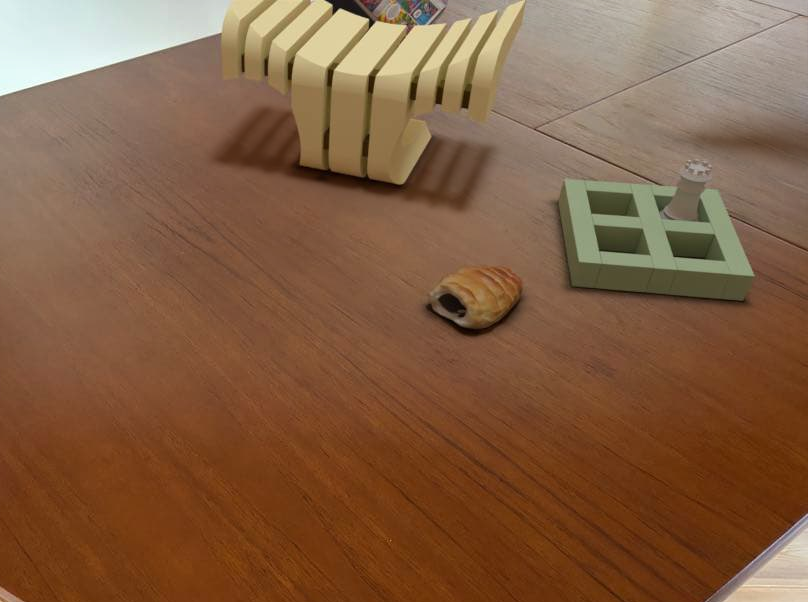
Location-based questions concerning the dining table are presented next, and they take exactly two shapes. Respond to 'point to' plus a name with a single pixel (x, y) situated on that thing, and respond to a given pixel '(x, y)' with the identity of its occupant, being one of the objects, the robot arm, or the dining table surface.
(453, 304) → the pastry
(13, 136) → the dining table surface
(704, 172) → the rook chess piece
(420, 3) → the colorful printed box
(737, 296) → the window frame
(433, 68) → the slatted curved stool
